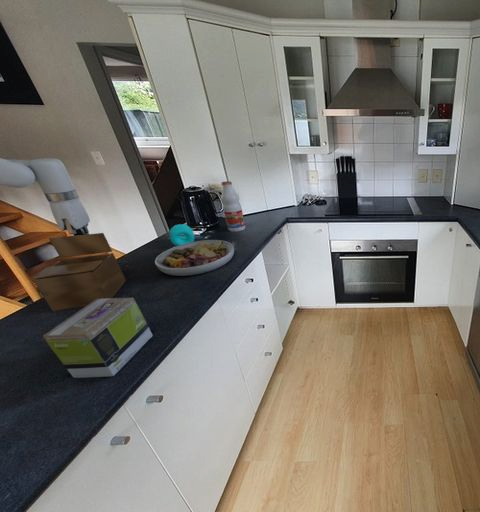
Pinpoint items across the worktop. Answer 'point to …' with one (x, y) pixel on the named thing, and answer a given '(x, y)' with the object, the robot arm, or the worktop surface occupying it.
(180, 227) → the cyan donut
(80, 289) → the carton
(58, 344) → the tea box
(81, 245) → the flap
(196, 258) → the bowl
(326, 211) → the worktop surface
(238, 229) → the fruit juice
